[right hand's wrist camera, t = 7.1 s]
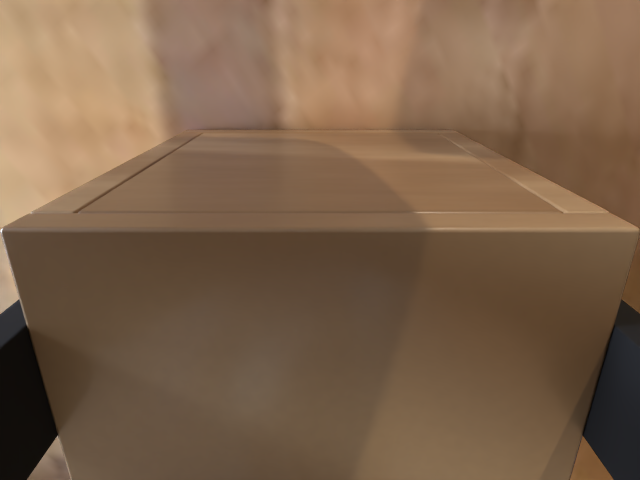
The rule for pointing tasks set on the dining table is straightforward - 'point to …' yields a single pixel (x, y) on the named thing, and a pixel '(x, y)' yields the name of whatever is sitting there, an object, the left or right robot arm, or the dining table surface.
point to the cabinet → (320, 310)
